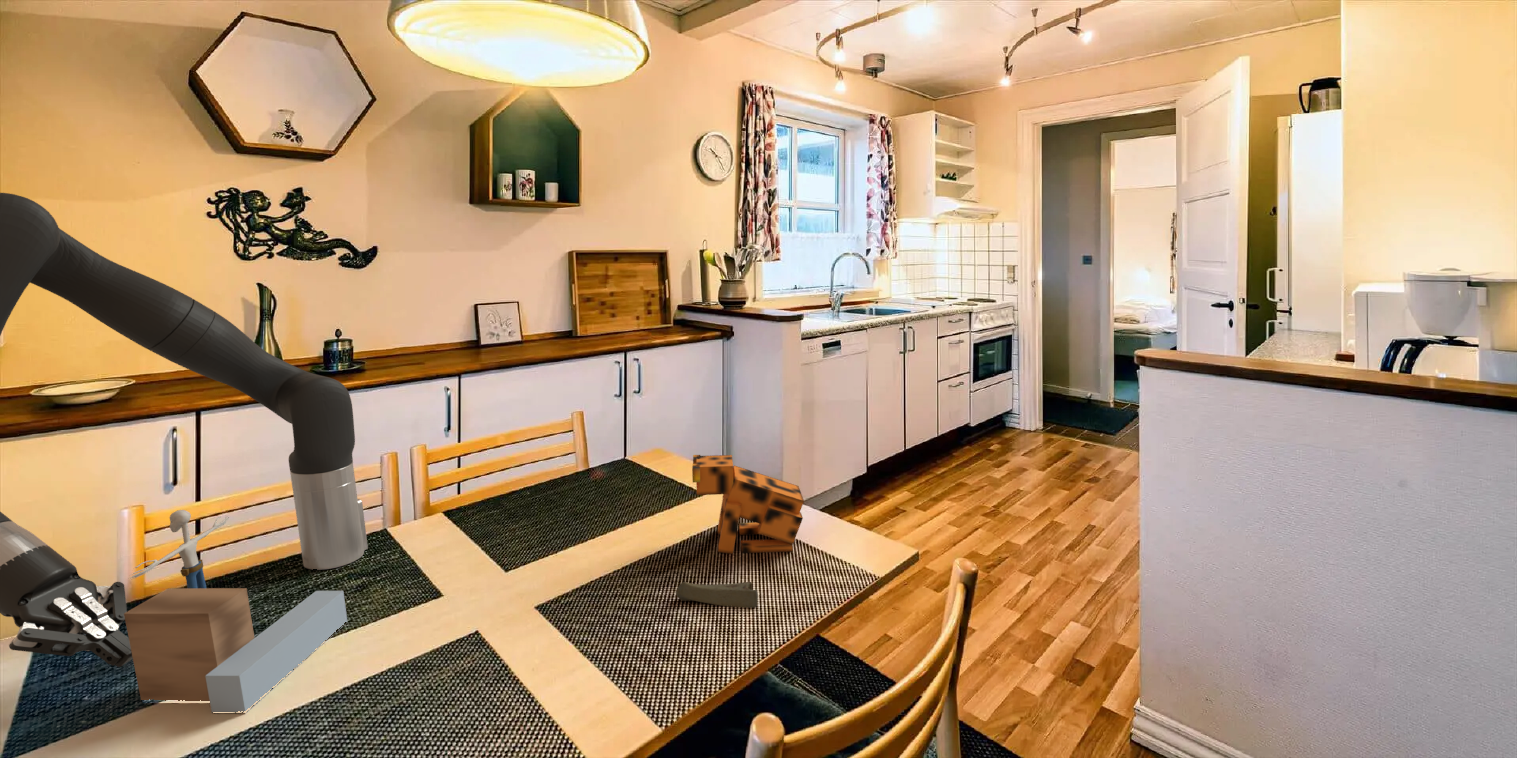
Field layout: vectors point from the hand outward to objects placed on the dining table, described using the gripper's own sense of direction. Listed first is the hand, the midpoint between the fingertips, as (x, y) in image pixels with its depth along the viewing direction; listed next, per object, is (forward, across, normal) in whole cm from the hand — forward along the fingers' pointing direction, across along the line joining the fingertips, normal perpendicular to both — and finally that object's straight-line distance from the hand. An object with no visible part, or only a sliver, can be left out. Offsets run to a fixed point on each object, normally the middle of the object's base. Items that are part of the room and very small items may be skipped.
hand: (129, 659), depth 84 cm
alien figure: (+2, +10, +4) cm, 11 cm away
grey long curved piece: (+54, +20, -48) cm, 75 cm away
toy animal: (+57, +43, -51) cm, 88 cm away
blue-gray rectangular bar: (+14, +5, -8) cm, 17 cm away
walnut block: (+9, 0, -3) cm, 9 cm away
